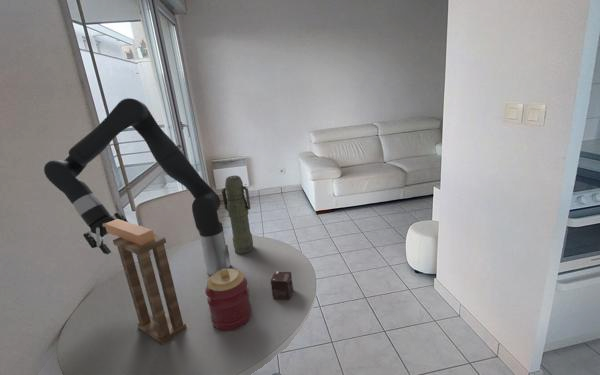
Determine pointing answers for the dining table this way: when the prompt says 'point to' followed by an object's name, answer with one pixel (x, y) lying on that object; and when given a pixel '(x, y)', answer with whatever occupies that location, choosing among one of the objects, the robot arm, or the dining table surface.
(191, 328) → the dining table surface
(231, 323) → the canister
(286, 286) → the box
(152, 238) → the terracotta bar
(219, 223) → the robot arm
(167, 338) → the walnut shelf stand
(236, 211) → the thermos
